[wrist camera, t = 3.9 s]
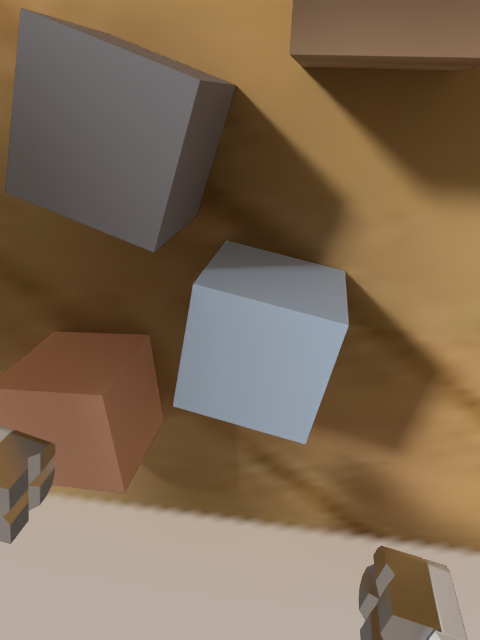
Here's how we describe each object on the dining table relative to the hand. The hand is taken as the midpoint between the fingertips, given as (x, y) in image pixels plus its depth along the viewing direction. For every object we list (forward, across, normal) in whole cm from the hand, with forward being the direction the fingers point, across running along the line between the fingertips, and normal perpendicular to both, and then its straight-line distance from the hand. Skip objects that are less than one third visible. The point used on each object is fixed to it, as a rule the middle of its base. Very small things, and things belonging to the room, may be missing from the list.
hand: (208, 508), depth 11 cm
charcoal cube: (+10, +6, -7) cm, 14 cm away
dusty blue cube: (+10, 0, -1) cm, 10 cm away
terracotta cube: (+10, +7, +5) cm, 13 cm away
